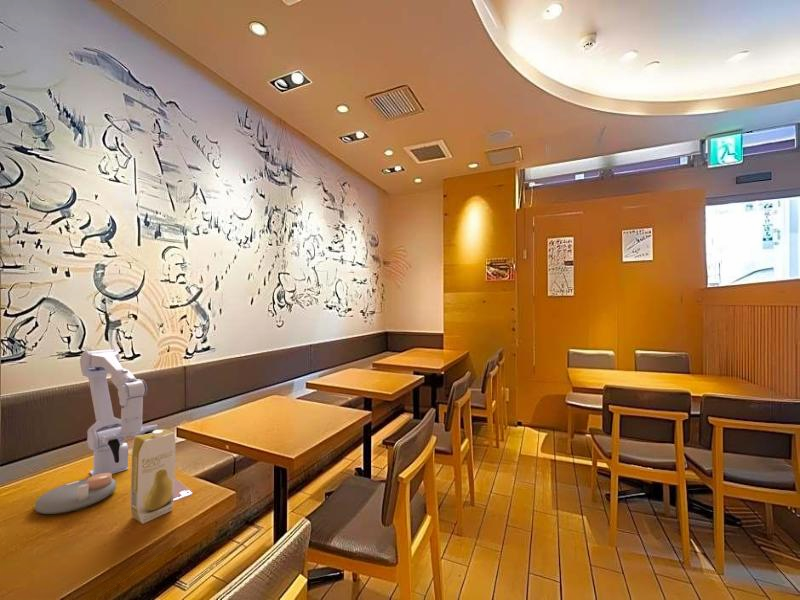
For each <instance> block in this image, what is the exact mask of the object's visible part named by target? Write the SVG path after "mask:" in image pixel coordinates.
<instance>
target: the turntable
mask: <svg viewBox="0 0 800 600" xmlns="http://www.w3.org/2000/svg"><path fill="white" fill-rule="evenodd" d="M87 479H88V478H83V479H80V480H75V481H72V482H69V483H65V484H63V485H61V486H57V487H54V488H53V489H51V490H49V491H46V492H45V493H43V494H42V495H41V496H39V497H38V498H37V499H36V500H35V504H34V510H35V511H36V512H37V513H39V514H42V515H45V514H46V515H53V514H54V515H55V514H56V513H59V514H64V513H63V512H67V513H69V512H68V511H71V512H73V511H72V510H75V511H77V510H76V509H79V510H81V509H80V508H82V509H84V508H83V507H85V508H87V507H86V506H88V507H90V506H92V505H94V503H95V504H97V503H99V502H100V501H102V500H104V499H106V498H107V497H108V496H110V495H111V494H112V493H113V492H115V490H116V488H117V480H115V479H114V478H112V482H111V484H110V485H108V486H106V487H104V488H101V489H97V490H89V484H87ZM91 504H92V505H91ZM89 505H90V506H89Z"/></svg>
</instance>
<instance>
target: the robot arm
mask: <svg viewBox="0 0 800 600" xmlns="http://www.w3.org/2000/svg"><path fill="white" fill-rule="evenodd" d="M119 361H120V354H119V351H118V350H117V349H116V348H111V349H110V348H109V349H101V350H100V349H97V350H89V351H88V350H84V351H83V352H82V353H81V355H80V359H79V364H80V369H81V373H82V376H83V377H85V378H87V379H88V383H89V387H90V388H89V389H90V395H91V400H92V404H93V405H92V406H93V411H94V415H95V417H94V418H95V422H94V423H93V424H92V425H91V426H90V427H89V428H88V429H87V431H86V433H87V439H86V440H87V441H86V442H87V447H88V448H89V449H90V450H91V451H93V461H92V462H93V463H92V464H93V465H92V470H89V474H90V476H94V475H97V474H101V473H111V474H112V475H114V474H117V473H121V472H124V471H127V470H129V445H128V443H127V442H124V441H125V440H126V439H127V438H130V437H135V436H140V435H145V434H150V433H152V432H153V431H155V430H159V429H158V424H157V423H156V424H152V425H150V424H149V425H143V411H144V410H143V408H144V407H143V405H144V404H143V403H144V397H146V395H147V392H148V385H147V382H146V381H145V380H144V379H140V378H138V379H137V378H136V377H135V375H134V374H133V372H131V371H130V369H128V368H124V367H123V366H122V364H121V363H120V362H119ZM108 375H110V381H111V382H112V384H113V385H114V386H115V388H116V389H117V394H118V395H117V396H118V399H119V403H118V404H119V405H120V407H121V410H120V418H118V417H115V416H114V411H113V406H112V405H113V404H112V400H111V395H110V390H109V384H108V380H107V376H108Z"/></svg>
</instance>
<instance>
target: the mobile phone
mask: <svg viewBox="0 0 800 600" xmlns="http://www.w3.org/2000/svg"><path fill="white" fill-rule="evenodd" d="M192 495H193V491H192V490H191V489H190V488H188V487H187V486H186V485H185V484H183V483H182V481H180V480H179V479H178V478H175V484H174V501H173V503H174V502H177V501H180V500H182V499H184V498H187V497H189V496H192Z"/></svg>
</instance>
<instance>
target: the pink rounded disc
mask: <svg viewBox="0 0 800 600" xmlns="http://www.w3.org/2000/svg"><path fill="white" fill-rule="evenodd" d="M112 476H113V474H111V473H101V474H97V475H94V476H92V475H90V477H88V478H86V479H87V484H89V490H97V489H101V488H104V487H106V486H108V485H110V484H111V482H112V479H113V478H112Z"/></svg>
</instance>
